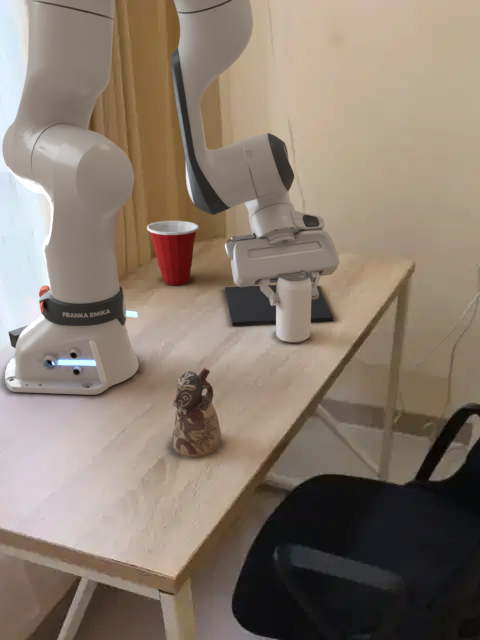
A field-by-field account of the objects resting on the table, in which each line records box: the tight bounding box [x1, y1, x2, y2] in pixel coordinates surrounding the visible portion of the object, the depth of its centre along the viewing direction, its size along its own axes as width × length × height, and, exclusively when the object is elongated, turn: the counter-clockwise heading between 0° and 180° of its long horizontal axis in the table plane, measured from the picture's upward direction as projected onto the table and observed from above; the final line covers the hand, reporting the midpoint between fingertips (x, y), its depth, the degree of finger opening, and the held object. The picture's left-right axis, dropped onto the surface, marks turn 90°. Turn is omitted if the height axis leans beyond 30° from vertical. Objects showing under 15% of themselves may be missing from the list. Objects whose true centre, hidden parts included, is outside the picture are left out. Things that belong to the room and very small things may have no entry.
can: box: [275, 270, 313, 344], centre depth 138 cm, size 6×6×12 cm
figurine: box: [171, 367, 222, 458], centre depth 108 cm, size 7×7×12 cm
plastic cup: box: [146, 220, 199, 286], centre depth 160 cm, size 11×11×12 cm
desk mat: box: [224, 282, 334, 327], centre depth 153 cm, size 20×18×1 cm
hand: (295, 301), depth 137 cm, fingers closed on can, 6 cm apart
